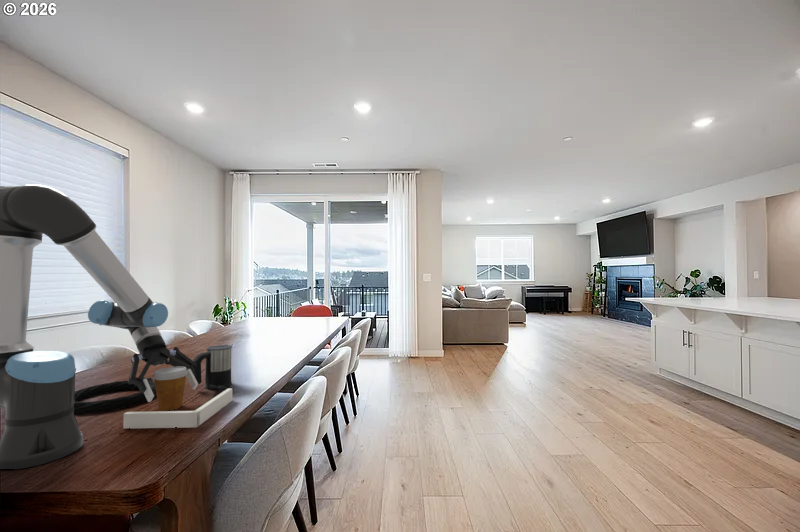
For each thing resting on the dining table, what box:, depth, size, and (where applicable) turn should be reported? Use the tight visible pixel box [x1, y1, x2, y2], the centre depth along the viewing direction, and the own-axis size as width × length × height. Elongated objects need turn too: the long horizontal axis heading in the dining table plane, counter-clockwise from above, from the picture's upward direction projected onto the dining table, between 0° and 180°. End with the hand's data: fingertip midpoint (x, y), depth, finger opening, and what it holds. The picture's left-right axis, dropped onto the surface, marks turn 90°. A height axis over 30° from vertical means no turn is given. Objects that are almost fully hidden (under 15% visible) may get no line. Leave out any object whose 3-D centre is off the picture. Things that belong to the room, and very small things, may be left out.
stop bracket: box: [122, 388, 233, 430], centre depth 111 cm, size 22×20×4 cm
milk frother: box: [192, 344, 234, 391], centre depth 136 cm, size 14×16×15 cm
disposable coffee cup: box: [152, 366, 188, 411], centre depth 116 cm, size 10×10×12 cm
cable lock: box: [74, 376, 157, 414], centre depth 126 cm, size 28×4×30 cm
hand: (174, 392), depth 115 cm, fingers open, 13 cm apart
